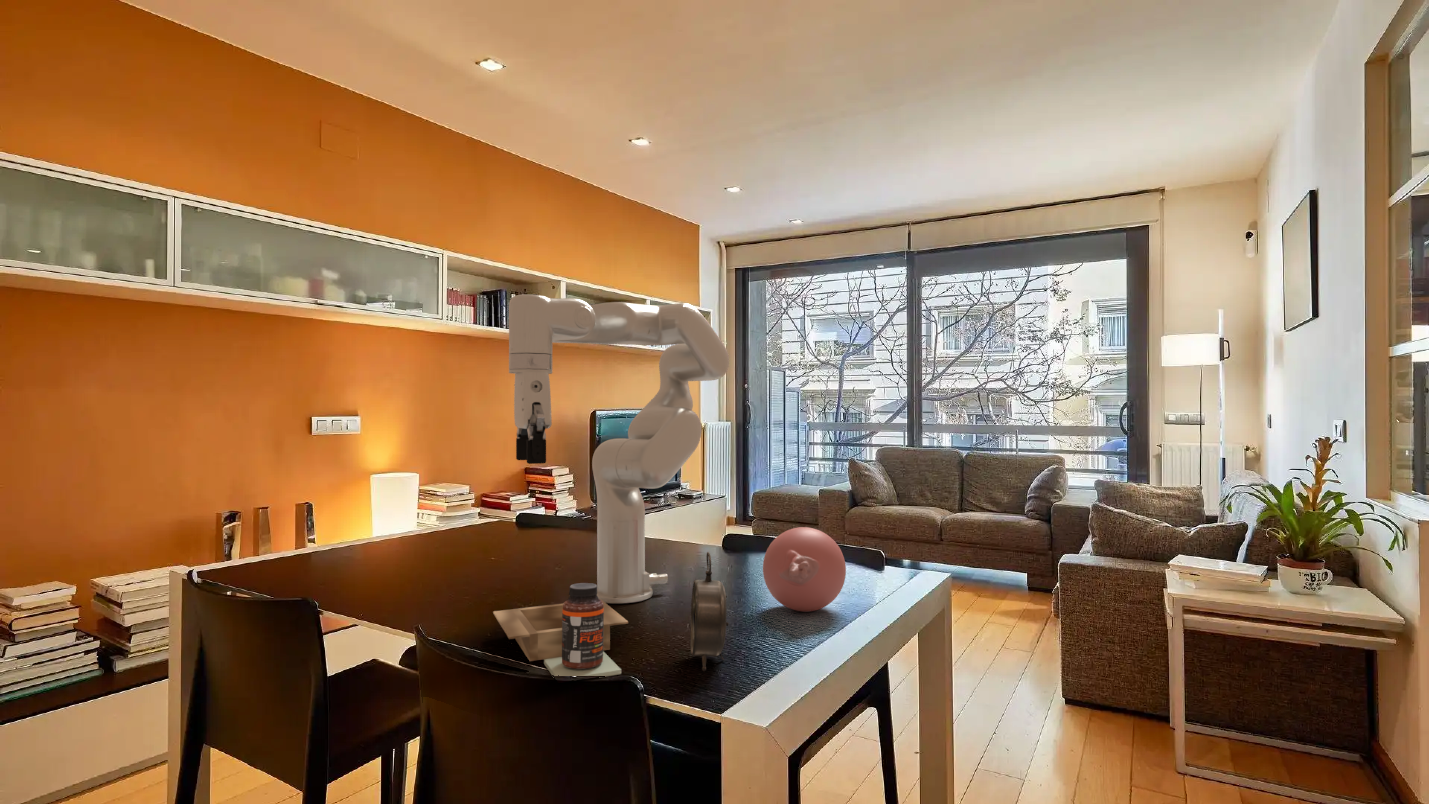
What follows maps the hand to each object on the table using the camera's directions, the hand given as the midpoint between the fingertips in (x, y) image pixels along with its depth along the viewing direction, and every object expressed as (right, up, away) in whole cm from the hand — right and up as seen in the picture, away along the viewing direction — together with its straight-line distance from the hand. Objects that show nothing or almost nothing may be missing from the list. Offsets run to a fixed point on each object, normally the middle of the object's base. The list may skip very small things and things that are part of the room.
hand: (530, 461), depth 130 cm
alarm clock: (+32, -28, -21) cm, 47 cm away
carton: (+7, -28, -11) cm, 31 cm away
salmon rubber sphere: (+49, -29, +5) cm, 57 cm away
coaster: (+13, -28, -24) cm, 39 cm away
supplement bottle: (+13, -28, -24) cm, 39 cm away
